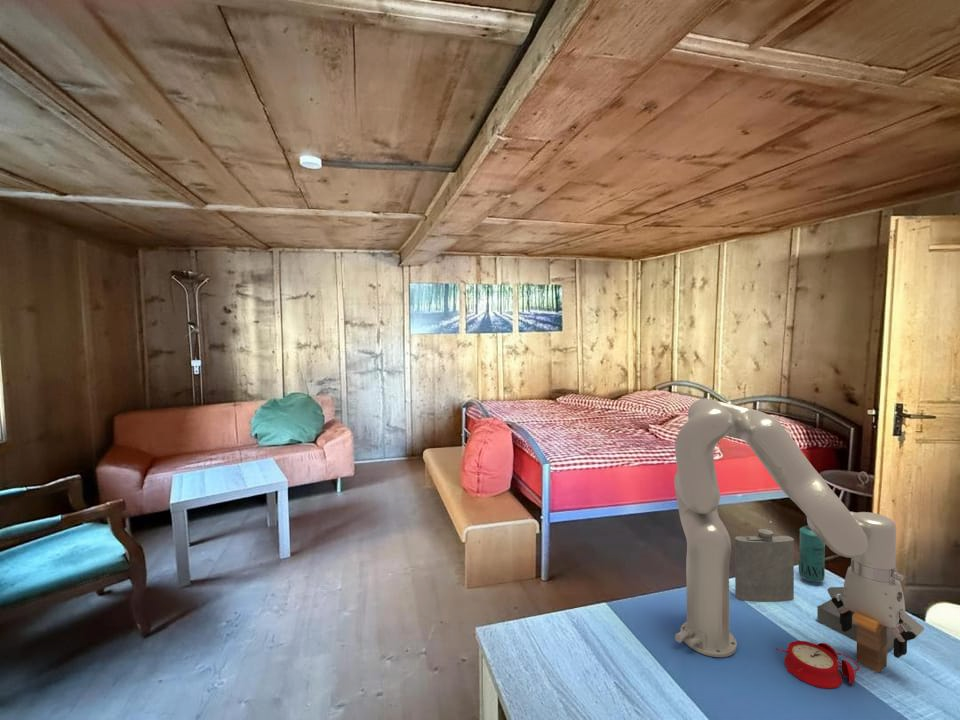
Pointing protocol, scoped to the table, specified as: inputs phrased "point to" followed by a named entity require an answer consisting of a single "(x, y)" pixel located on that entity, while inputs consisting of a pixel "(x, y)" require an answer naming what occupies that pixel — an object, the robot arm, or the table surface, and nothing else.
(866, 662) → the wooden peg block
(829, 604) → the collar
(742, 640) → the table surface
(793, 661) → the alarm clock
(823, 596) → the table surface
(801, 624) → the table surface
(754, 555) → the hip flask
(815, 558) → the beverage bottle
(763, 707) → the table surface
